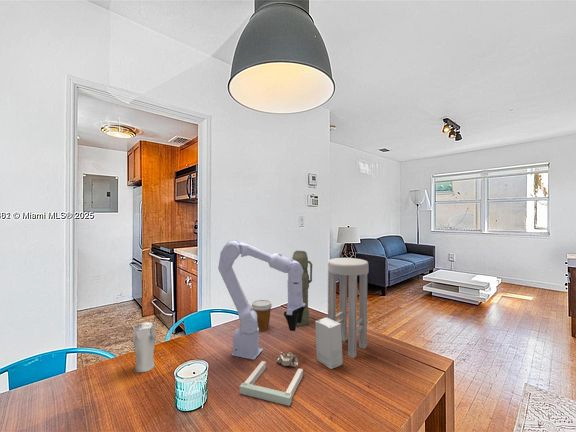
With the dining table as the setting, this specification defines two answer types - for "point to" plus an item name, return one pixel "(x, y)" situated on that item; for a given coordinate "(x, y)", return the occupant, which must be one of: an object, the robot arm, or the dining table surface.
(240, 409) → the dining table surface
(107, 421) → the dining table surface
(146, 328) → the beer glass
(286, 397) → the u-shaped frame
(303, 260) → the thermos
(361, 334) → the stool
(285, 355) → the ornament
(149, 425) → the dining table surface
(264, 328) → the disposable coffee cup
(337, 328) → the skincare box
